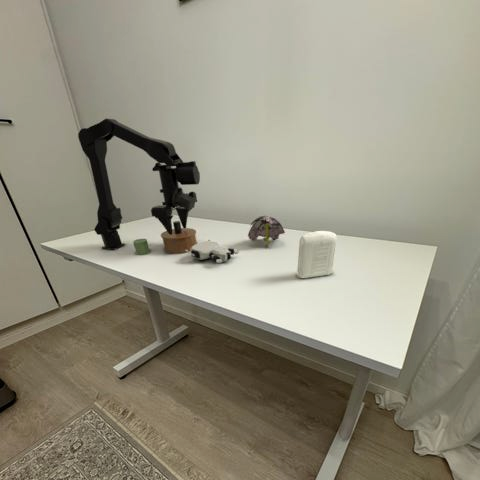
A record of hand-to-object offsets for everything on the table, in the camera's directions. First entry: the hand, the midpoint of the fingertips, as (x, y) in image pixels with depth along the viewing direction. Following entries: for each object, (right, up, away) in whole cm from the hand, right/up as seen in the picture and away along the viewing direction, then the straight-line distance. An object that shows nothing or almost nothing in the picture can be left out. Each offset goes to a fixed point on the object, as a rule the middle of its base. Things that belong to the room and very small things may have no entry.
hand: (178, 231), depth 103 cm
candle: (-14, -7, +2) cm, 16 cm away
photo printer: (+45, -20, -23) cm, 54 cm away
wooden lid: (0, -1, +1) cm, 1 cm away
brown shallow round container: (0, -5, +4) cm, 7 cm away
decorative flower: (+33, -4, +3) cm, 33 cm away
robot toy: (+14, -12, -8) cm, 21 cm away
